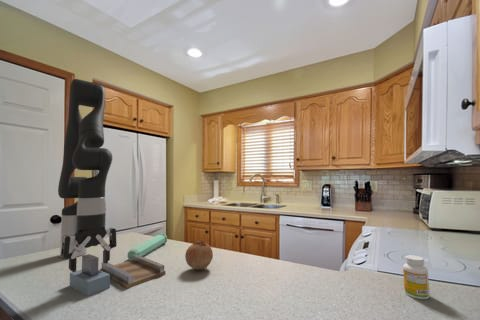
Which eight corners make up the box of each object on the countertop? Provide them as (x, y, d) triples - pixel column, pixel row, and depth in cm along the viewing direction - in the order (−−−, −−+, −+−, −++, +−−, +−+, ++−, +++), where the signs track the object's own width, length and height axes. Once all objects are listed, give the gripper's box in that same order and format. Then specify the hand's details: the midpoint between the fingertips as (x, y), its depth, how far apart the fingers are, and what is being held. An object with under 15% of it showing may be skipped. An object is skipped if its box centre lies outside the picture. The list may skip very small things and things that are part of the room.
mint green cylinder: (134, 246, 94) (165, 230, 118) (122, 251, 94) (154, 235, 119) (140, 260, 93) (169, 242, 118) (127, 266, 94) (158, 246, 118)
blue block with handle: (69, 286, 73) (70, 255, 74) (90, 279, 78) (91, 250, 79) (87, 297, 66) (88, 263, 67) (109, 288, 71) (110, 257, 72)
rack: (99, 271, 84) (100, 263, 84) (136, 261, 93) (136, 253, 94) (126, 288, 71) (126, 277, 71) (165, 274, 81) (165, 264, 81)
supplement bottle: (410, 288, 68) (407, 253, 69) (433, 296, 63) (430, 258, 64) (400, 293, 65) (398, 256, 66) (424, 302, 60) (421, 262, 61)
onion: (217, 266, 87) (217, 238, 88) (205, 276, 78) (204, 245, 79) (194, 263, 90) (194, 236, 91) (179, 273, 81) (179, 242, 82)
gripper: (110, 209, 82) (109, 258, 80) (59, 214, 71) (57, 271, 69) (120, 210, 77) (119, 263, 76) (67, 216, 66) (65, 277, 65)
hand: (90, 266), depth 73 cm, fingers open, 8 cm apart
